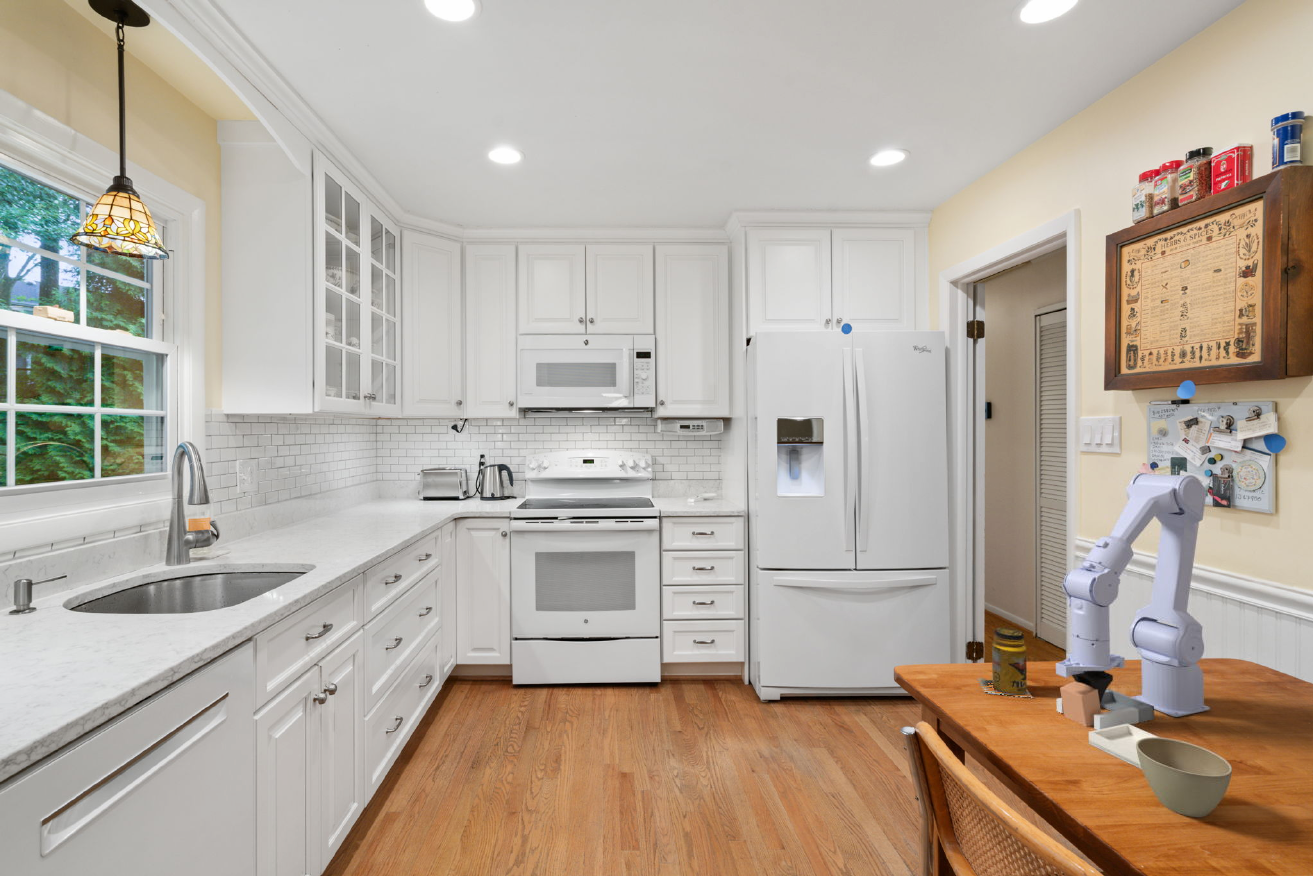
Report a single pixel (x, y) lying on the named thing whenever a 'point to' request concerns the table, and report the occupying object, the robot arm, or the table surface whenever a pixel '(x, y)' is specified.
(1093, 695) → the block
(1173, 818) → the table surface
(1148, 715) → the grey u-shaped piece
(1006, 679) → the condiment
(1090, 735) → the tray
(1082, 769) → the table surface
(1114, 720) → the channel
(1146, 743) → the beige bowl
